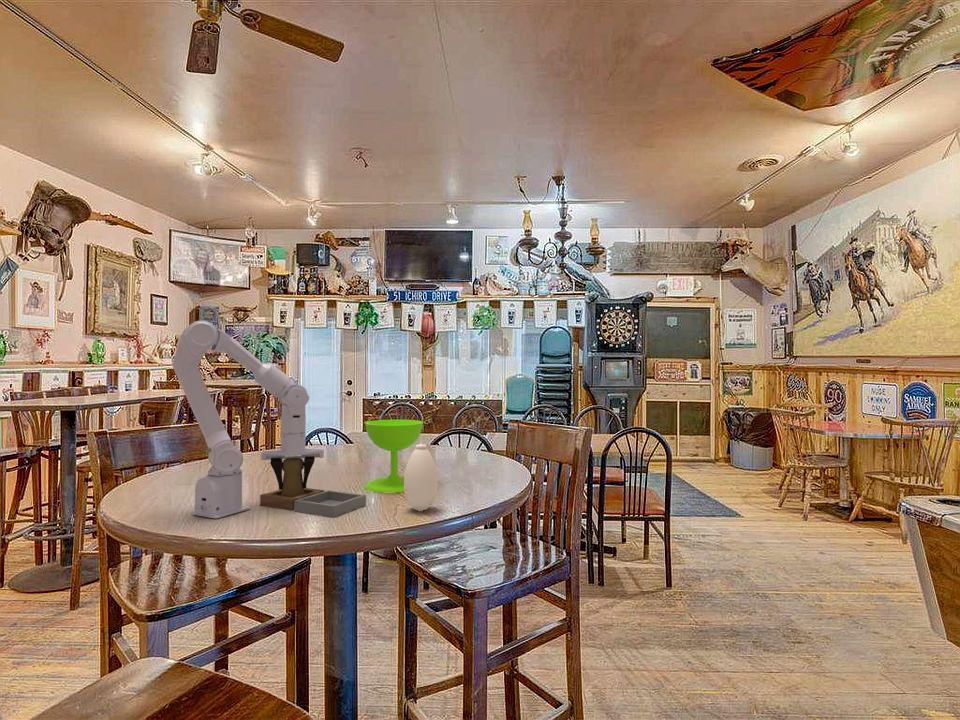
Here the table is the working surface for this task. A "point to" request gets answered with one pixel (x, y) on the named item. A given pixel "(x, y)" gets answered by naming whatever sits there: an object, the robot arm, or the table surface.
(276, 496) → the socket block
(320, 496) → the tray
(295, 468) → the cork
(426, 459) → the sauce bottle
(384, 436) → the wineglass
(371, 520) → the table surface
